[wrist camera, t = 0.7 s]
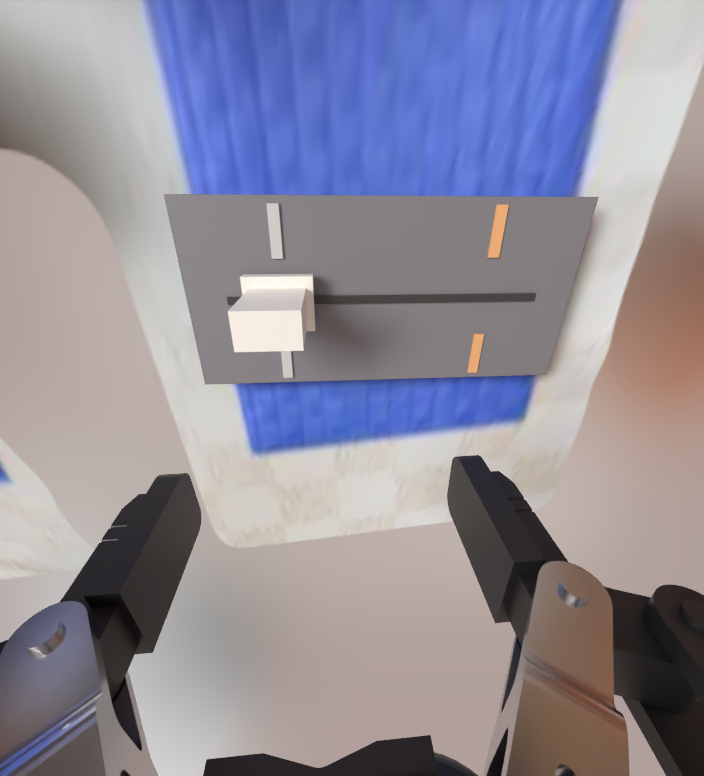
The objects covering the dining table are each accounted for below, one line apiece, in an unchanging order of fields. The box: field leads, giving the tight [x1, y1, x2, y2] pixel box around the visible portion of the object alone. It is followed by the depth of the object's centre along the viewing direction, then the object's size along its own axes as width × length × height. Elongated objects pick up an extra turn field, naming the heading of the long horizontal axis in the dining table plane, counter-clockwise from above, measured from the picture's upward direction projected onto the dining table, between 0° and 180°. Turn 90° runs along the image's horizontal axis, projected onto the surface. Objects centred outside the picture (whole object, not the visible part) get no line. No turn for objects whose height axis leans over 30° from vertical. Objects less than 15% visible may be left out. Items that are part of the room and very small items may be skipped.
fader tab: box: [228, 274, 315, 352], centre depth 23 cm, size 4×5×7 cm
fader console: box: [164, 194, 598, 384], centre depth 28 cm, size 14×30×3 cm, turn 90°
